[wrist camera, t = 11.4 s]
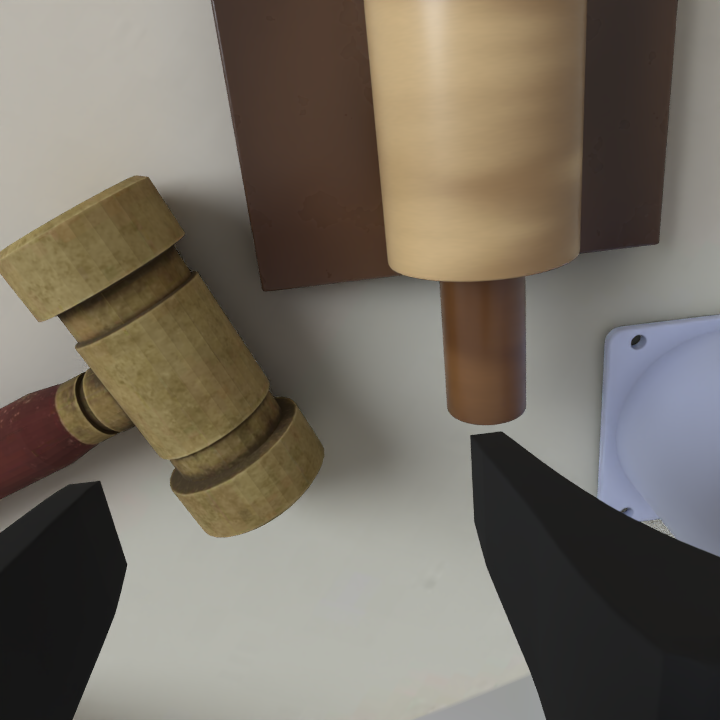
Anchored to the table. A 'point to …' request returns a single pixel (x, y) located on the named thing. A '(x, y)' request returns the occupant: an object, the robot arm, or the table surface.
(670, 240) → the table surface
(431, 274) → the rolling pin
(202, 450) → the gavel
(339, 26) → the pastry board
